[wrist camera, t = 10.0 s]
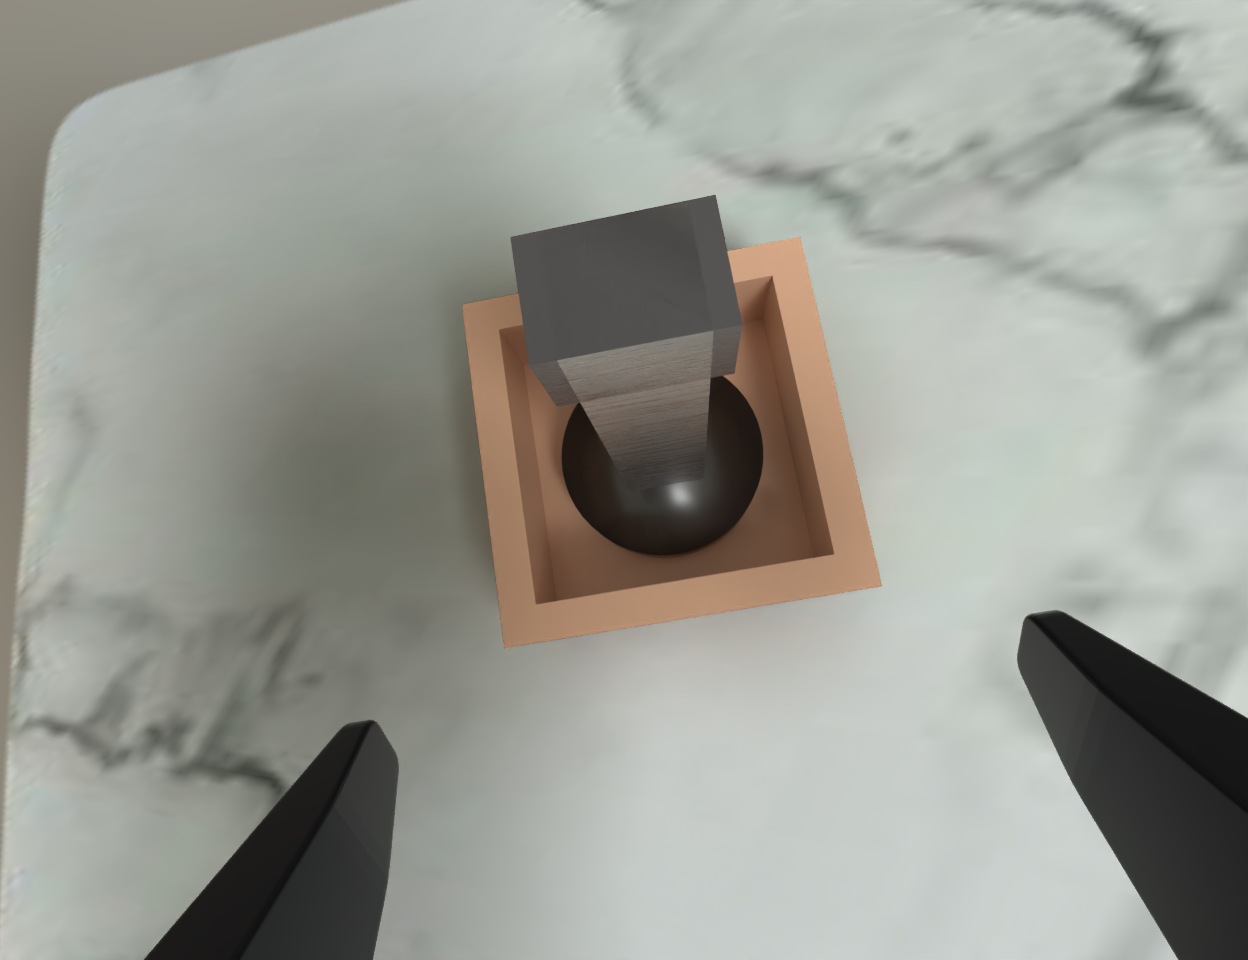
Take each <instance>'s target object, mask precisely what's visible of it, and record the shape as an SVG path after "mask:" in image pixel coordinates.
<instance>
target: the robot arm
mask: <svg viewBox="0 0 1248 960" xmlns="http://www.w3.org/2000/svg"><path fill="white" fill-rule="evenodd" d="M1017 662H1018V667H1019V670H1020V673H1021V675H1022V678H1023V680H1024V682H1025V684H1026V686H1027V688H1028V691H1029V693H1030V695H1031V697H1032V699H1033V701H1034V703H1035V705H1036V708H1037V710H1038V712H1039V714H1040V716H1041V718H1042V720H1043V723H1044V725H1045V727H1046V729H1047V731H1048V733H1049V735H1050V738H1051V740H1052V742H1053V744H1054V746H1055V748H1056V750H1057V753H1058V755H1059V757H1060V759H1061V761H1062V763H1063V765H1064V767H1065V769H1066V771H1067V773H1068V775H1069V777H1070V779H1071V781H1072V783H1073V785H1074V787H1075V788H1076V790H1077V792H1078V794H1079V795H1080V797H1081V799H1082V801H1083V802H1084V804H1085V806H1086V807H1087V809H1088V811H1089V812H1090V814H1091V816H1092V817H1093V819H1094V821H1095V822H1096V824H1097V826H1098V827H1099V829H1100V830H1101V832H1102V834H1103V835H1104V837H1105V839H1106V840H1107V842H1108V844H1109V845H1110V847H1111V849H1112V850H1113V852H1114V854H1115V855H1116V857H1117V859H1118V860H1119V862H1120V864H1121V865H1122V867H1123V869H1124V870H1125V872H1126V874H1127V875H1128V877H1129V879H1130V880H1131V882H1132V884H1133V885H1134V887H1135V889H1136V890H1137V892H1138V894H1139V895H1140V897H1141V899H1142V900H1143V902H1144V904H1145V905H1146V907H1147V909H1148V910H1149V912H1150V914H1151V915H1152V917H1153V918H1154V920H1155V922H1156V923H1157V925H1158V927H1159V928H1160V930H1161V932H1162V933H1163V935H1164V937H1165V938H1166V940H1167V942H1168V943H1169V945H1170V947H1171V948H1172V950H1173V952H1174V953H1175V955H1176V957H1177V958H1178V960H1248V718H1247V717H1245V716H1243V715H1242V714H1240V713H1238V712H1236V711H1235V710H1233V709H1231V708H1229V707H1228V706H1226V705H1224V704H1223V703H1221V702H1219V701H1217V700H1216V699H1214V698H1212V697H1210V696H1209V695H1207V694H1205V693H1203V692H1202V691H1200V690H1198V689H1197V688H1195V687H1193V686H1191V685H1190V684H1188V683H1186V682H1184V681H1183V680H1181V679H1179V678H1177V677H1176V676H1174V675H1172V674H1171V673H1169V672H1167V671H1165V670H1164V669H1162V668H1160V667H1158V666H1157V665H1155V664H1153V663H1151V662H1150V661H1148V660H1146V659H1145V658H1143V657H1141V656H1139V655H1138V654H1136V653H1134V652H1132V651H1131V650H1129V649H1127V648H1125V647H1124V646H1122V645H1120V644H1119V643H1117V642H1115V641H1113V640H1112V639H1110V638H1108V637H1106V636H1105V635H1103V634H1101V633H1099V632H1098V631H1096V630H1094V629H1093V628H1091V627H1089V626H1087V625H1086V624H1084V623H1082V622H1080V621H1079V620H1077V619H1075V618H1073V617H1072V616H1070V615H1068V614H1066V613H1064V612H1061V611H1058V610H1052V611H1045V612H1039V613H1033V614H1029V615H1028V616H1027V617H1026V618H1025V619H1024V622H1023V626H1022V632H1021V637H1020V643H1019V648H1018V653H1017ZM398 771H399V765H398V758H397V755H396V753H395V751H394V749H393V747H392V746H391V744H390V742H389V741H388V739H387V737H386V736H385V734H384V732H383V731H382V729H381V727H380V726H379V724H378V723H377V722H375V721H373V720H366V721H360V722H354V723H349V724H347V725H345V726H343V727H342V728H341V729H340V730H339V731H338V732H337V734H336V735H335V736H334V737H333V738H332V739H331V741H330V742H329V743H328V744H327V745H326V747H325V748H324V749H323V750H322V751H321V752H320V754H319V755H318V756H317V757H316V758H315V759H314V761H313V762H312V763H311V764H310V765H309V766H308V768H307V769H306V770H305V771H304V772H303V774H302V775H301V776H300V777H299V778H298V779H297V781H296V782H295V783H294V784H293V785H292V786H291V788H290V789H289V790H288V791H287V792H286V793H285V795H284V796H283V797H282V798H281V799H280V801H279V802H278V803H277V804H276V805H275V806H274V808H273V809H272V810H271V811H270V812H269V813H268V815H267V816H266V817H265V818H264V819H263V820H262V822H261V823H260V824H259V825H258V826H257V827H256V829H255V830H254V831H253V832H252V833H251V835H250V836H249V837H248V838H247V839H246V840H245V842H244V843H243V844H242V845H241V846H240V847H239V849H238V850H237V851H236V852H235V853H234V854H233V856H232V857H231V858H230V859H229V860H228V862H227V863H226V864H225V865H224V866H223V867H222V869H221V870H220V871H219V872H218V873H217V874H216V876H215V877H214V878H213V879H212V880H211V881H210V883H209V884H208V885H207V886H206V887H205V889H204V890H203V891H202V892H201V893H200V894H199V896H198V897H197V898H196V899H195V900H194V901H193V903H192V904H191V905H190V906H189V907H188V908H187V910H186V911H185V912H184V913H183V914H182V916H181V917H180V918H179V919H178V920H177V921H176V923H175V924H174V925H173V926H172V927H171V928H170V930H169V931H168V932H167V933H166V934H165V935H164V937H163V938H162V939H161V940H160V941H159V943H158V944H157V945H156V946H155V947H154V948H153V950H152V951H151V952H150V953H149V954H148V955H147V957H146V958H145V959H144V960H373V956H374V951H375V946H376V941H377V936H378V931H379V926H380V921H381V915H382V910H383V905H384V900H385V895H386V889H387V883H388V876H389V868H390V859H391V848H392V837H393V826H394V815H395V804H396V794H397V783H398Z"/></svg>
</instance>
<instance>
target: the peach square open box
mask: <svg viewBox="0 0 1248 960" xmlns="http://www.w3.org/2000/svg"><path fill="white" fill-rule="evenodd" d="M727 252H728V257H729V262H730V267H731V271H732V276H733V281H734V286H735V290H736V295H737V300H738V305H739V309H740V314H741V319H742V324H743V326H742V332H741V338H740V344H739V350H738V356H737V362H736V368H735V374H730V375H725V376H724V377H725V378H727V379H728V380H729V381H730V382H731V383H732V384H733V385H734V386H736V387H737V388H738V389H739V391H740V392H741V393H742V394H743V396H744V397H745V398H746V399H747V401H748V403H749V404H750V406H751V408H752V409H753V411H754V414H755V416H756V418H757V421H758V423H759V427H760V431H761V434H762V441H763V467H762V474H761V478H760V481H759V485H758V488H757V490H756V492H755V495H754V497H753V499H752V501H751V503H750V505H749V507H748V509H747V510H746V512H745V513H744V515H743V517H742V518H741V519H740V521H739V522H738V523H737V524H736V526H735V527H734V528H733V529H732V530H731V531H730V532H729V533H728V534H726V535H725V536H724V537H723V538H721V539H720V540H719V541H717V542H716V543H714V544H712V545H710V546H709V547H707V548H705V549H703V550H700V551H697V552H695V553H692V554H688V555H684V556H679V557H670V558H658V557H649V556H643V555H639V554H636V553H632V552H629V551H627V550H625V549H623V548H621V547H618V546H617V545H615V544H614V543H612V542H610V541H609V540H607V539H606V538H605V537H604V536H602V535H601V534H600V533H599V532H598V531H596V530H595V529H594V528H593V527H592V526H591V525H590V524H589V523H588V522H587V521H586V520H585V519H584V518H583V517H582V515H581V514H580V512H579V511H578V510H577V508H576V507H575V505H574V503H573V501H572V499H571V497H570V495H569V492H568V490H567V487H566V484H565V480H564V476H563V471H562V459H561V457H562V443H563V438H564V433H565V429H566V426H567V423H568V420H569V418H570V416H571V414H572V412H573V410H574V408H575V407H576V405H577V403H576V404H570V405H565V406H560V407H557V406H556V405H555V403H554V402H553V400H552V399H551V398H550V396H549V395H548V393H547V392H546V390H545V389H544V387H543V386H542V384H541V383H540V381H539V380H538V379H537V377H536V376H535V374H534V373H533V371H532V370H531V368H530V367H529V364H528V356H527V349H526V342H525V335H524V328H523V321H522V314H521V307H520V300H519V293H517V294H512V295H507V296H502V297H497V298H492V299H487V300H482V301H477V302H472V303H467V304H462V310H463V318H464V326H465V334H466V342H467V350H468V358H469V366H470V374H471V383H472V391H473V399H474V407H475V415H476V423H477V431H478V439H479V447H480V455H481V464H482V472H483V480H484V488H485V496H486V504H487V512H488V520H489V528H490V537H491V545H492V553H493V561H494V569H495V577H496V585H497V593H498V601H499V609H500V618H501V626H502V634H503V642H504V648H509V647H515V646H521V645H527V644H533V643H539V642H546V641H552V640H558V639H564V638H570V637H576V636H582V635H588V634H594V633H600V632H606V631H612V630H619V629H625V628H631V627H637V626H643V625H649V624H655V623H661V622H667V621H673V620H679V619H686V618H692V617H698V616H704V615H710V614H716V613H722V612H728V611H734V610H740V609H746V608H752V607H759V606H765V605H771V604H777V603H783V602H789V601H795V600H801V599H807V598H813V597H819V596H825V595H832V594H838V593H844V592H850V591H856V590H862V589H868V588H874V587H880V586H882V584H881V579H880V575H879V571H878V567H877V562H876V558H875V554H874V550H873V545H872V541H871V537H870V532H869V528H868V524H867V520H866V515H865V511H864V507H863V503H862V498H861V494H860V490H859V486H858V481H857V477H856V473H855V468H854V464H853V460H852V456H851V451H850V447H849V443H848V439H847V434H846V430H845V426H844V421H843V417H842V413H841V409H840V404H839V400H838V396H837V392H836V387H835V383H834V379H833V375H832V370H831V366H830V362H829V357H828V353H827V349H826V345H825V340H824V336H823V332H822V328H821V323H820V319H819V315H818V311H817V306H816V302H815V298H814V293H813V289H812V285H811V281H810V276H809V272H808V268H807V264H806V259H805V255H804V251H803V247H802V242H801V238H800V237H796V238H791V239H786V240H781V241H776V242H771V243H766V244H761V245H756V246H751V247H746V248H741V249H736V250H731V251H727Z"/></svg>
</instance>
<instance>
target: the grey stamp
mask: <svg viewBox="0 0 1248 960" xmlns="http://www.w3.org/2000/svg"><path fill="white" fill-rule="evenodd" d="M511 244H512V251H513V258H514V265H515V272H516V279H517V286H518V293H519V300H520V307H521V314H522V321H523V328H524V335H525V342H526V349H527V356H528V364H529V367H530V368H531V370H532V371H533V373H534V374H535V376H536V377H537V379H538V380H539V381H540V383H541V384H542V386H543V387H544V389H545V390H546V392H547V393H548V395H549V396H550V398H551V399H552V400H553V402H554V403H555V405H556V406H557V407H560V406H565V405H570V404H576V403H577V405H576V407H575V408H574V410H573V412H572V414H571V416H570V418H569V420H568V423H567V426H566V429H565V433H564V438H563V443H562V457H561V459H562V471H563V476H564V480H565V484H566V487H567V490H568V492H569V495H570V497H571V499H572V501H573V503H574V505H575V507H576V508H577V510H578V511H579V512H580V514H581V515H582V517H583V518H584V519H585V520H586V521H587V522H588V523H589V524H590V525H591V526H592V527H593V528H594V529H595V530H596V531H598V532H599V533H600V534H601V535H602V536H604V537H605V538H606V539H607V540H609V541H610V542H612V543H614V544H615V545H617V546H618V547H621V548H623V549H625V550H627V551H629V552H632V553H636V554H639V555H643V556H649V557H658V558H670V557H679V556H684V555H688V554H692V553H695V552H697V551H700V550H703V549H705V548H707V547H709V546H710V545H712V544H714V543H716V542H717V541H719V540H720V539H721V538H723V537H724V536H725V535H726V534H728V533H729V532H730V531H731V530H732V529H733V528H734V527H735V526H736V524H737V523H738V522H739V521H740V519H741V518H742V517H743V515H744V513H745V512H746V510H747V509H748V507H749V505H750V503H751V501H752V499H753V497H754V495H755V492H756V490H757V488H758V485H759V481H760V478H761V474H762V467H763V441H762V434H761V431H760V427H759V423H758V421H757V418H756V416H755V414H754V411H753V409H752V408H751V406H750V404H749V403H748V401H747V399H746V398H745V397H744V396H743V394H742V393H741V392H740V391H739V389H738V388H737V387H736V386H734V385H733V384H732V383H731V382H730V381H729V380H728V379H727V378H725V377H724V376H725V375H730V374H735V368H736V362H737V356H738V350H739V344H740V338H741V332H742V326H743V324H742V319H741V314H740V309H739V305H738V300H737V295H736V290H735V286H734V281H733V276H732V271H731V267H730V262H729V257H728V252H727V248H726V243H725V238H724V233H723V229H722V224H721V219H720V214H719V209H718V205H717V200H716V195H712V196H707V197H703V198H698V199H693V200H688V201H683V202H678V203H674V204H669V205H664V206H659V207H654V208H649V209H644V210H640V211H635V212H630V213H625V214H620V215H615V216H611V217H606V218H601V219H596V220H591V221H586V222H581V223H577V224H572V225H567V226H562V227H557V228H552V229H548V230H543V231H538V232H533V233H528V234H523V235H518V236H514V237H511Z"/></svg>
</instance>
